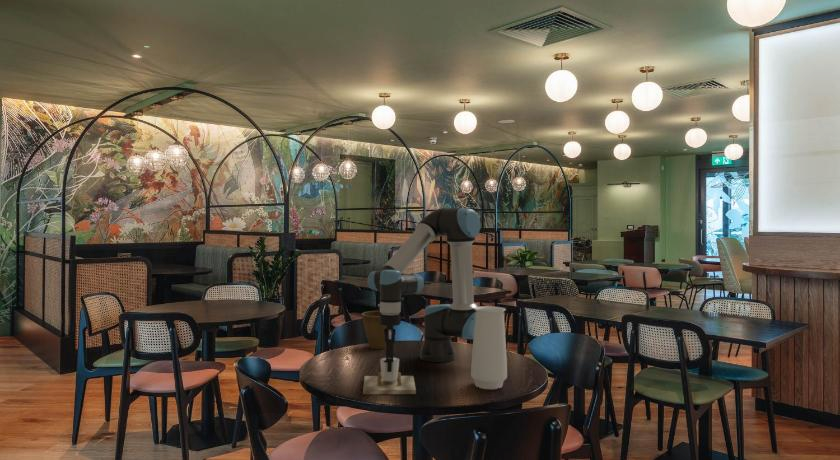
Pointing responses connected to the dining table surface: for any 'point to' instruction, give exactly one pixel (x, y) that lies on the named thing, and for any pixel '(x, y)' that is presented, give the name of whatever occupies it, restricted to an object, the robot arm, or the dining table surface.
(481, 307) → the vase
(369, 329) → the plant pot
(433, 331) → the robot arm
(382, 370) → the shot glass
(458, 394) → the dining table surface
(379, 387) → the pin board
